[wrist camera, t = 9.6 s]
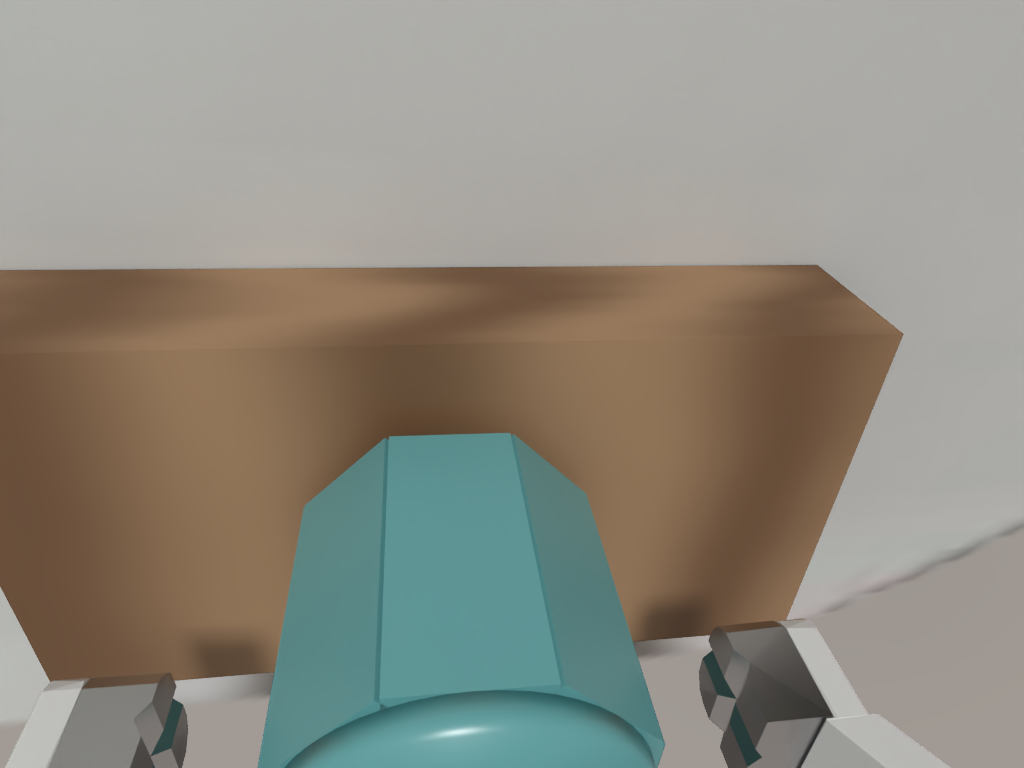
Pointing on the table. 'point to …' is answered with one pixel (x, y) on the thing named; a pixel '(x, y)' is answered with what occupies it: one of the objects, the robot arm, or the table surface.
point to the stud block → (408, 433)
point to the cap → (455, 620)
